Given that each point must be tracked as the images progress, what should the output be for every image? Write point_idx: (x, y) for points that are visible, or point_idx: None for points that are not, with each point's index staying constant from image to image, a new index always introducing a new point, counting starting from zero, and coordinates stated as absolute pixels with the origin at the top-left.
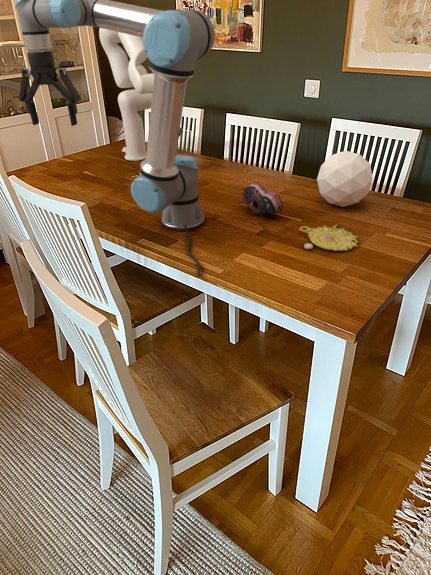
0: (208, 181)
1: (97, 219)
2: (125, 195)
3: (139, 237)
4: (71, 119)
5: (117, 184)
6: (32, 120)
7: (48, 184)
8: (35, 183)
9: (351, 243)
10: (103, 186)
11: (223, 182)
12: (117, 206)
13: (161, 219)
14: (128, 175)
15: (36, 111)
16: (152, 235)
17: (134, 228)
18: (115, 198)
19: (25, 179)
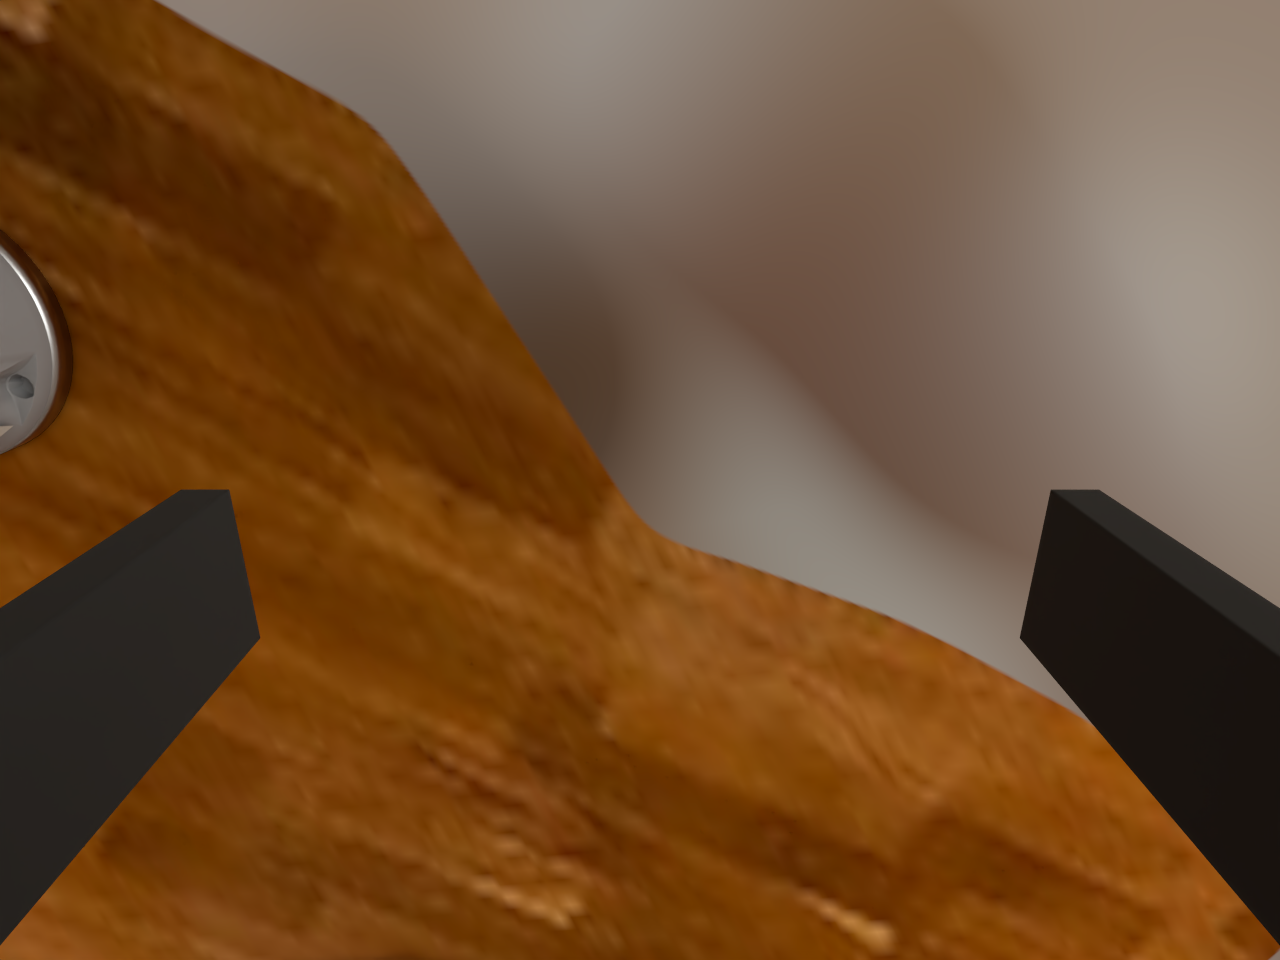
0: (121, 881)
1: (487, 298)
2: (490, 659)
3: (76, 57)
4: (126, 546)
5: (613, 798)
6: (1139, 527)
7: (1035, 761)
8: (1124, 767)
9: None
10: (683, 765)
11: None
12: (459, 503)
13: (25, 283)
14: (608, 917)
15: (1160, 800)
16: (12, 101)
17: (183, 193)
18: (529, 612)
19: None
